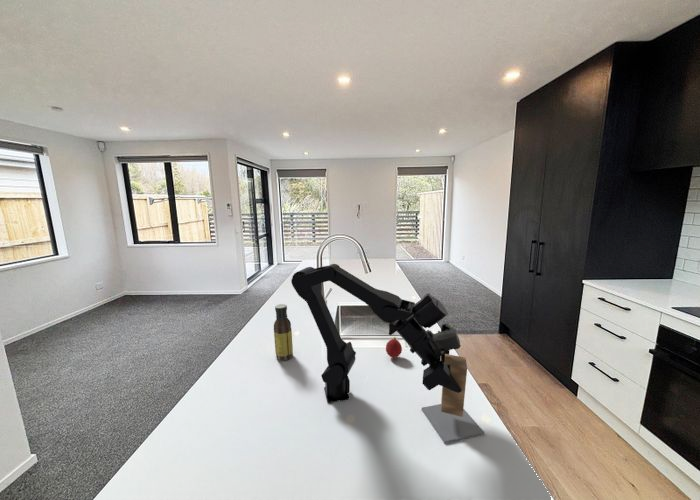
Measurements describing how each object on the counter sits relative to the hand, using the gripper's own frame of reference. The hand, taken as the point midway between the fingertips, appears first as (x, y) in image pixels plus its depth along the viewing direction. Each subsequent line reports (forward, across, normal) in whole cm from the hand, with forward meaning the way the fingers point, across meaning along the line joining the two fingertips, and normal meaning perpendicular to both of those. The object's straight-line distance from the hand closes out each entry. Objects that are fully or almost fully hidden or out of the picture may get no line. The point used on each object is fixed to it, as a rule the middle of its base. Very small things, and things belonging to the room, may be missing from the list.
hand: (459, 384), depth 68 cm
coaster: (+7, 0, +8) cm, 11 cm away
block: (+4, 0, +6) cm, 7 cm away
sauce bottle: (-33, +12, +50) cm, 61 cm away
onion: (-6, +25, +22) cm, 34 cm away
